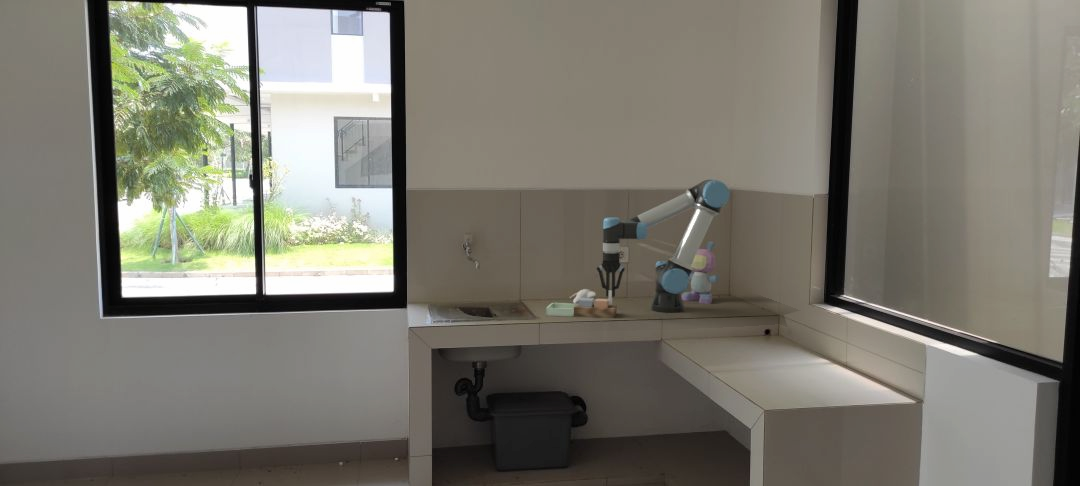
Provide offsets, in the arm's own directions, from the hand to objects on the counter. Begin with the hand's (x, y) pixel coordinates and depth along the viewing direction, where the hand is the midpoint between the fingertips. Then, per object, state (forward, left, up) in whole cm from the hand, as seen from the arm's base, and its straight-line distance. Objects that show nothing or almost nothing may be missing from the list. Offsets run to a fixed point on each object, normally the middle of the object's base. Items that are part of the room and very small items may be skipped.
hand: (610, 303), depth 355 cm
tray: (+22, 0, -5) cm, 23 cm away
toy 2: (-38, -47, -6) cm, 61 cm away
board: (+7, 0, -5) cm, 9 cm away
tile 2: (+4, 0, -1) cm, 4 cm away
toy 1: (+16, -18, -6) cm, 25 cm away
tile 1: (+11, 0, -1) cm, 11 cm away
